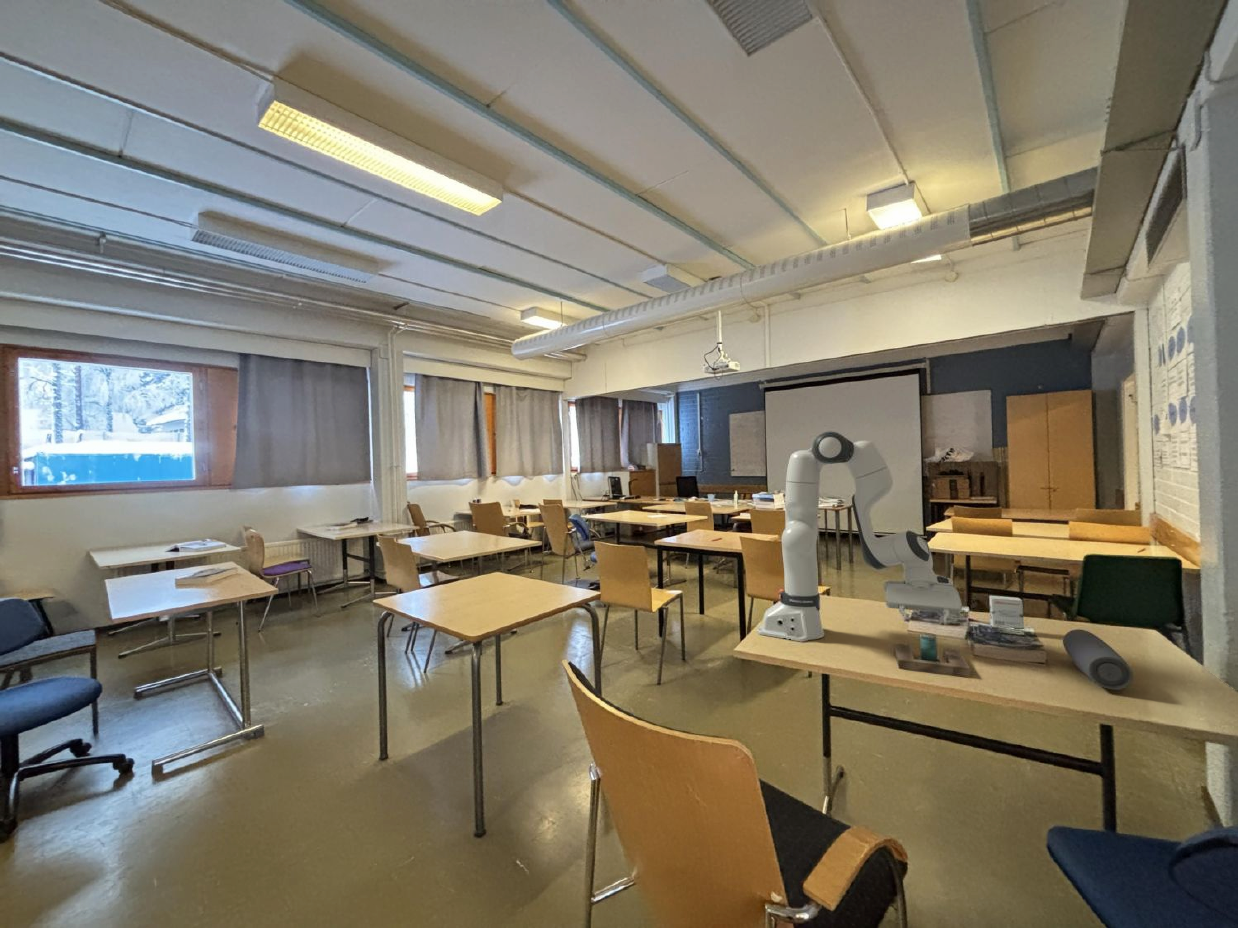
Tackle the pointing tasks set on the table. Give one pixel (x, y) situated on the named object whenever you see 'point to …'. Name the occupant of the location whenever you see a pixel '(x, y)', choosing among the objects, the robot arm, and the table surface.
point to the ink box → (1006, 612)
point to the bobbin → (928, 647)
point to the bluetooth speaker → (1097, 660)
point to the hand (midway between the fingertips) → (924, 622)
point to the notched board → (951, 667)
